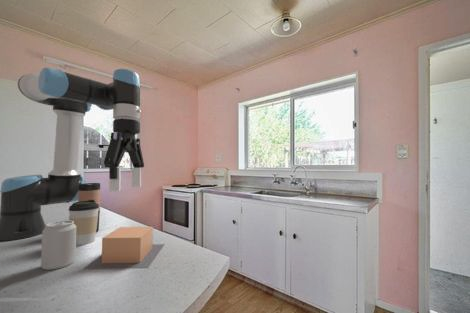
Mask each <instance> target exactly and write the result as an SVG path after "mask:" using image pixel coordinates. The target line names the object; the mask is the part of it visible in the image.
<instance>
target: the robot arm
mask: <svg viewBox="0 0 470 313" xmlns="http://www.w3.org/2000/svg"><path fill="white" fill-rule="evenodd" d="M112 76H113V77H112V82H110V83H108V84H107V83H104V82H101V81H97V80H93V79H91V78H86V77H82V76H79V75H76V74H72V73H69V72H66V71H62V70H61V69H56V68H51V67H44V68H42V69H41V71H40V72H39V73H34V72H33V73H27V74H23V75H22V76H20V77H19V79H18V81H17V88H18V90H19V92H20V93H21V94H22V95H23V96H24V97H26V98H27V99H28V100H31V101H33V102H36V103H39V104H42V105H45V106H51V107H52V111H53V112H54V114H55V115H56V123H55V126H56V127H55V139H54V153H53V168H52V170H50V171H49V172H48V173H47V177H43V175H42V174H31V175H20V176H15V177H13V176H12V177H8V178H5V179H4V180H3V181H2V182H1V186H0V241H1V242H2V241H3V242H4V241H6V242H7V241H15V240H22V239H26V238H30V237H35V236H39V235H42V231H43V230H44V229H45V228H46V223H45V221H44V218H43V215H42V211H41V210H42V207H43V206H47V205H57V204H69V203H75V202H78V193H79V184H80V185H81V184H84V183H86V178H85V177H84V176H82V174H81V172H80V171H79V170H78V166H79V165H78V164H79V162H78V161H79V152H80V151H79V150H80V149H79V148H80V138H81V137H80V135H81V124H82V118H83V117H85V116H86V113H88V112H90V111H91V109H92V105H93V106H96V107H98V108H99V109H101V110H103V111H110V110H112V118H113V122H112V127H113V128H112V131H113V132H111V133H110V141H109V144H108V146H107V150H106V154H105V157H104V161H103V165H104V167H105V168H108V170H109V172H108V173H109V175H108V176H109V178H108V180H109V182H108V183H109V185H108V186H109V187H108V188H109V189H108V191H109V192H121V189H122V188H121V186H122V180H121V177H122V176H121V175H122V172H121V171H122V170H121V167H120V165H121V162H122V159H123V157H124V155H125V153H127V154H128V156H129V159H130V162H131V164H132V166H133V167H132V168H131V188H141V187H142V168H144V167H145V162H144V158H143V153H142V148H141V147H142V146H141V138H136V135H139V134H140V133H141V123H140V120H141V119H140V118H141V116H140V115H141V113H142V110H141V107H140V106H141V84H140V82H141V81H140V75H139V74H138V73H137V72H135V71H133V70H131V69H127V68H117V69H115V70H114V71H113V75H112Z"/></svg>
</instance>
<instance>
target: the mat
mask: <svg viewBox="0 0 470 313" xmlns="http://www.w3.org/2000/svg"><path fill="white" fill-rule="evenodd" d="M165 245H166V244H164V243H163V244H159V243H158V244H153V243H152V249H151V250H150V252H149V253H148V254H147V255H146V256H145V257H144V259H143V260H142V261H141V262H140V263H102V254H100V255H99V256H98V257H97V258H95V259H94V260H93V261H91V262H90V263H89V264H87V265H86V266H84V267H83V268H82V270H113V269H114V270H115V269H116V270H118V269H121V270H122V269H149V267H150V266H151V264H152V263H153V262H154V260H155V259H156V258H157V256H158V255H159V253H160V252H161V251H162V250H163V247H164V246H165Z"/></svg>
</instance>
